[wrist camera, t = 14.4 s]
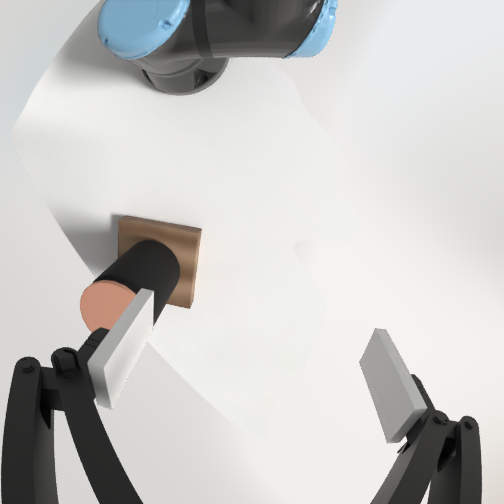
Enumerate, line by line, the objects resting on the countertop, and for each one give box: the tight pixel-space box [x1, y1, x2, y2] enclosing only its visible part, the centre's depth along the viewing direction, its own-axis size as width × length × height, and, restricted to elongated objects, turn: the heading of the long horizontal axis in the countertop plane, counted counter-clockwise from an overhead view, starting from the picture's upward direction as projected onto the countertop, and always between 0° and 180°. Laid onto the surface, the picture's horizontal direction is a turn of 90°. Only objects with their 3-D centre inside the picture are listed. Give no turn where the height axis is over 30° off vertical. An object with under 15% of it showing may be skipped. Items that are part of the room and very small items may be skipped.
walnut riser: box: [118, 216, 202, 309], centre depth 54 cm, size 15×15×3 cm
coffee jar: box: [80, 240, 180, 332], centre depth 44 cm, size 11×11×18 cm
